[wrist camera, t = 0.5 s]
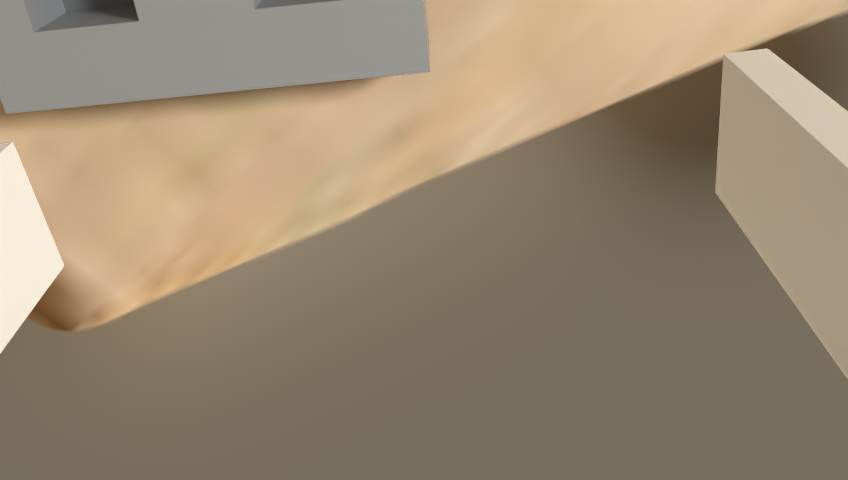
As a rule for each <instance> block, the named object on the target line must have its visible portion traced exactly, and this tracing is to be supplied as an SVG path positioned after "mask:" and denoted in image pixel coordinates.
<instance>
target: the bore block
mask: <svg viewBox="0 0 848 480" xmlns="http://www.w3.org/2000/svg"><path fill="white" fill-rule="evenodd" d="M424 72H430V63H429V42H428V32H427V22H426V12H425V2H424V0H0V99H1V102H2V105H3V108H4V110H5V113H6V114H12V113H22V112H32V111H42V110H52V109H62V108H72V107H82V106H92V105H103V104H113V103H123V102H133V101H143V100H153V99H163V98H173V97H183V96H193V95H203V94H213V93H223V92H233V91H243V90H253V89H263V88H274V87H284V86H294V85H304V84H314V83H324V82H334V81H344V80H354V79H364V78H374V77H384V76H394V75H404V74H414V73H424Z"/></svg>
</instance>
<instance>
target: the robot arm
mask: <svg viewBox="0 0 848 480" xmlns="http://www.w3.org/2000/svg"><path fill="white" fill-rule="evenodd" d="M715 192H716V194H717V195H718V197H719V198H720V199H721V201H722V202H723V203H724V205H725V206H726V208H727V209H728V211H729V212H730V214H731V215H732V216H733V218H734V219H735V220H736V222H737V223H738V225H739V226H740V228H741V229H742V231H743V232H744V233H745V235H746V236H747V237H748V239H749V240H750V242H751V243H752V245H753V246H754V247H755V249H756V250H757V252H758V253H759V255H760V256H761V257H762V259H763V260H764V262H765V263H766V264H767V266H768V267H769V269H770V270H771V272H772V273H773V274H774V276H775V277H776V279H777V280H778V281H779V283H780V284H781V286H782V287H783V288H784V290H785V291H786V293H787V294H788V295H789V297H790V298H791V300H792V301H793V303H794V304H795V305H796V307H797V308H798V310H799V311H800V312H801V314H802V315H803V317H804V318H805V320H806V321H807V322H808V324H809V325H810V327H811V328H812V330H813V331H814V332H815V334H816V335H817V337H818V338H819V339H820V341H821V342H822V344H823V345H824V346H825V348H826V349H827V351H828V352H829V354H830V355H831V356H832V358H833V359H834V361H835V362H836V363H837V365H838V366H839V368H840V369H841V371H842V372H843V373H844V375H845V376H846V378H847V379H848V111H846V110H845V109H843V107H841V106H840V105H839V104H837V103H836V102H835V101H834V100H832V99H831V98H830V97H828V96H827V95H826V94H825V93H824V92H822V91H821V90H820V89H818V88H817V87H816V86H815V85H813V84H812V83H811V82H809V81H808V80H807V79H806V78H804V77H803V76H802V75H801V74H799V73H798V72H797V71H796V70H794V69H793V68H791V67H790V66H789V65H788V64H787V63H785V62H784V61H783V60H782V59H780V58H779V57H778V56H776V55H775V54H774V53H773V52H771V51H770V50H769V49H760V50H752V51H744V52H736V53H727V54H724V55H723V73H722V91H721V105H720V122H719V140H718V156H717V172H716V189H715ZM63 267H64V264H63V261H62V259H61V257H60V254H59V252H58V249H57V247H56V245H55V242H54V240H53V237H52V235H51V233H50V230H49V228H48V225H47V223H46V220H45V218H44V216H43V213H42V211H41V208H40V206H39V204H38V201H37V199H36V196H35V194H34V192H33V189H32V187H31V184H30V182H29V179H28V177H27V175H26V172H25V170H24V167H23V165H22V163H21V160H20V158H19V155H18V153H17V151H16V148H15V146H14V143H13V142H7V143H0V353H1V352H2V350H3V349H4V347H5V346H6V345H7V343H8V342H9V341H10V339H11V338H12V337H13V335H14V334H15V333H16V331H17V330H18V328H19V327H20V326H21V324H22V323H23V321H24V320H25V319H26V318H27V316H28V315H29V313H30V312H31V311H32V309H33V308H34V307H35V305H36V304H37V302H38V301H39V300H40V298H41V297H42V296H43V294H44V293H45V292H46V290H47V289H48V287H49V286H50V285H51V283H52V282H53V281H54V279H55V278H56V276H57V275H58V274H59V272H60V271H61V270H62V268H63Z"/></svg>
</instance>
